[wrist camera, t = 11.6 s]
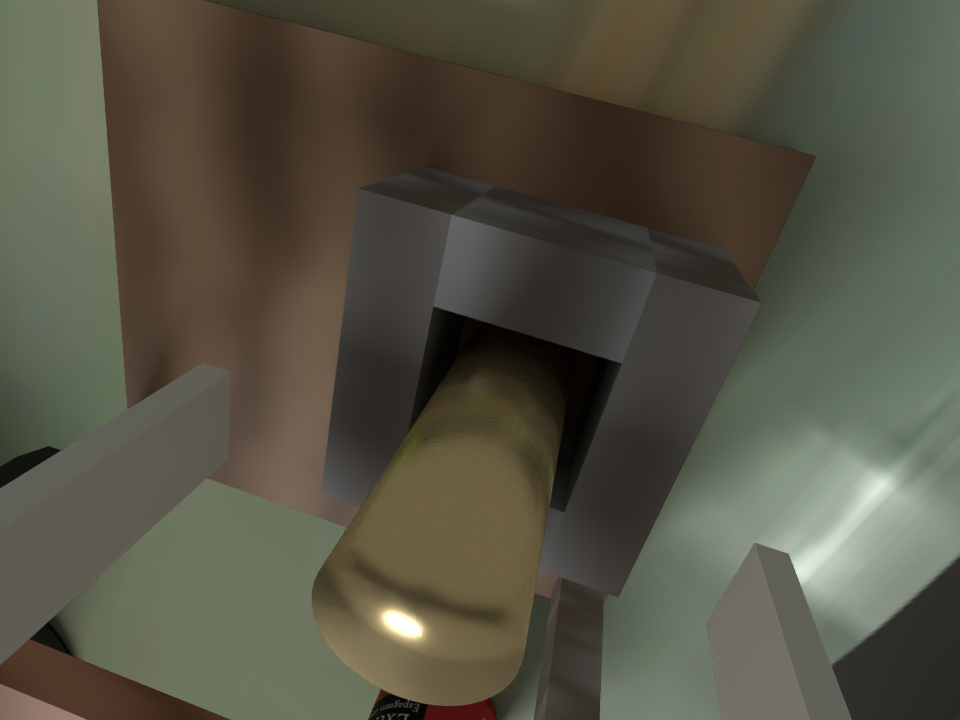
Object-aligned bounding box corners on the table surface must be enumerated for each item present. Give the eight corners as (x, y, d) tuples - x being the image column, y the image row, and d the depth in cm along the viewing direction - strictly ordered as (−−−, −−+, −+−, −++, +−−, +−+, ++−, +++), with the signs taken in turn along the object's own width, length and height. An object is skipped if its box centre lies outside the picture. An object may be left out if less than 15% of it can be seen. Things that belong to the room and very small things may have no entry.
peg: (468, 370, 24) (302, 660, 11) (490, 281, 22) (322, 509, 9) (560, 398, 23) (494, 733, 11) (589, 311, 22) (552, 589, 9)
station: (157, 431, 32) (-208, 690, 18) (137, -18, 22) (-711, -229, 8) (599, 584, 29) (579, 1032, 15) (798, 151, 20) (1266, 276, 5)
